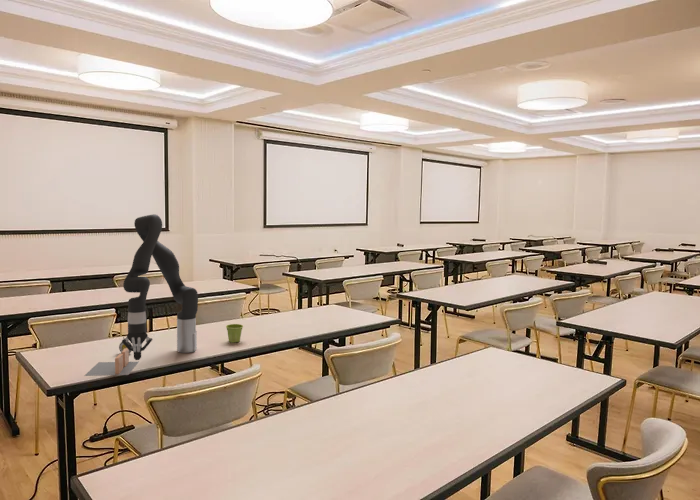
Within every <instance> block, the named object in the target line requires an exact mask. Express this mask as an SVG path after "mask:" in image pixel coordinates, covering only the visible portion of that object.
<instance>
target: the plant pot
mask: <svg viewBox="0 0 700 500" xmlns="http://www.w3.org/2000/svg"><path fill="white" fill-rule="evenodd" d="M225 328H226V331H227V336H228V342H229V343H231V344H233V343H234V344H235V343H239V342H241V336H242V330H243V328H244V325H242V324H239V323H230V324H226V325H225Z"/></svg>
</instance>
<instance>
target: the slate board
mask: <svg viewBox="0 0 700 500" xmlns="http://www.w3.org/2000/svg"><path fill="white" fill-rule="evenodd" d="M139 362H140V361H129V363H128V364H127V365H126V367H123V370H122V371H121V372H120V373H119V374H115V361H99V362H97V363H96V364H95V365H94V366H93V367H92V368H91V369H90V370H89V371H88V372H86V373H85V374H84V377H87V376H90V377H93V376H129V375H130V374H131V373H132V371H133V370H134V369H135V368H136V367H137V365H138V364H139Z"/></svg>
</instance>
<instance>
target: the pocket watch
mask: <svg viewBox="0 0 700 500" xmlns="http://www.w3.org/2000/svg"><path fill="white" fill-rule="evenodd" d="M126 337H127V335H124V336H123V337H122V340H123V339H124V338H126ZM129 343H130V344H131V345H132V343H131V342H130V341H129ZM125 348H127V347H126V346H125V345H124V344H123V343H122V341H121V342H120V343H119V345H118V350H119V351H120V353H121V352H122V351H123V350H124V349H125ZM131 352H132V351H129V354H130V353H131Z"/></svg>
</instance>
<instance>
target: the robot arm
mask: <svg viewBox="0 0 700 500" xmlns="http://www.w3.org/2000/svg"><path fill="white" fill-rule="evenodd" d="M134 228H135V229H134V230H135V231H136V233H137V235H138V236H139V238H140V239H141V241H142V243H141V244H140V245H139V247H138V249H137V250H136V252H135V254H134V257H133V261H132V265H131V267H130V270H129V272H128V273H127V275H126V276H125V278H124V279H123V280H124V281H123V283H122V284H123V285H122V287H123V290H124V291H125V292H126V293H134V294H138V293H139V296H136V297H131V298H129V299H128V302H127V306H128V308H127V311H128V312H127V335H126V336H127V337H126V336H125V337H124V339H123V338H122V340H121V342H122V343H123V344H124V345H125V346H126V347H127V348H128V349H129V351H131V352H133V359H134V360H135V361H139V360H140V359H142V352H143V351H145V349H147V347H148V346H149V345H150V343H151V342H153V338H151V337H149V335H148V332H147V312H146V309H147V308H146V304H147V303H146V302H147V296H148V293H149V289H150V285H151V282H150V280H149V278H148V277H147V276H143V275H147V274H148V273H149V270H150V264H151V261H152V260H151V259H152V257H153V259H154V261H155V263H156V265H157V267H158V268H159V270H160V272H161V274H162V276H163V277H164V280H165V281H166V283H167V285H168V287H169V290H170V293H171V295H172V297H173V299H174V301H175V302H176V303H178V304H180V305H182V306H181V307H182V308H181V310H180V311H178V312H177V314H176V351H177V352H178V353H181V354H183V353H184V354H188V353H189V354H190V353H194V352H196V351H197V341H198V340H197V339H198V338H197V332H198V331H197V318H196V317H197V313H198V309H199V293H198V291H197V289H196V288H194V287H190V286H186V285H185V284H184V282H183V281H182V278H181V277H180V264H179V261H178V260H177V258H176V255H175V253H174V252H173V251H172V250H171V249H170V248H169V247H167V246H165V245H164V244H162V243H161V242H160V241H159V238H160V234H161V232H162V231H163V230H162V229H163V221H162V218H161V217H160V216H159V215H158V214H148V215H143V216H139V217H137V218H135V219H134ZM129 342H130V343H131V344H132V345H131V344H130V343H129ZM144 342H146V343H145V344H144V345H143V343H144Z"/></svg>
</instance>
